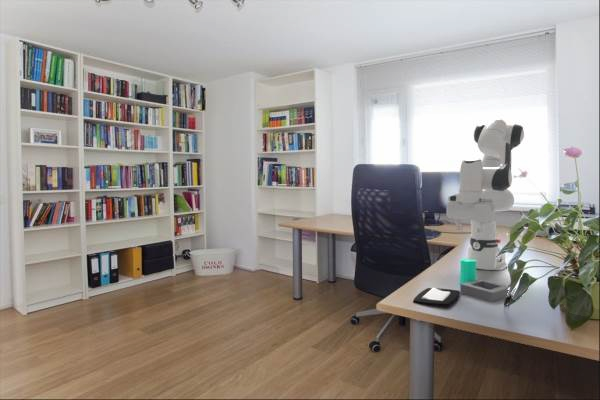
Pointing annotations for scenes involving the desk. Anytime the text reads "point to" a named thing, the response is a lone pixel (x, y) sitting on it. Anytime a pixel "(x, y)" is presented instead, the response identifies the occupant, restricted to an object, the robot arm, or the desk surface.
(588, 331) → the desk surface
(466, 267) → the candle
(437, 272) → the desk surface
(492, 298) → the socket block
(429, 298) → the light switch
